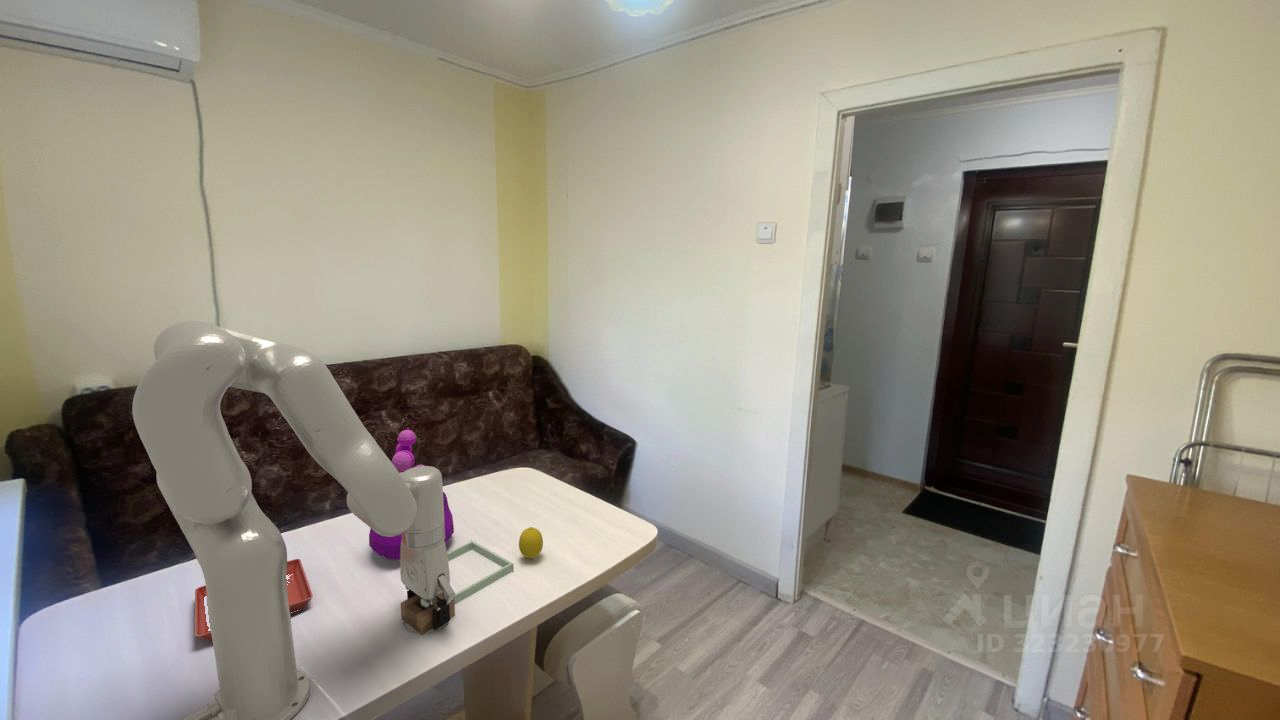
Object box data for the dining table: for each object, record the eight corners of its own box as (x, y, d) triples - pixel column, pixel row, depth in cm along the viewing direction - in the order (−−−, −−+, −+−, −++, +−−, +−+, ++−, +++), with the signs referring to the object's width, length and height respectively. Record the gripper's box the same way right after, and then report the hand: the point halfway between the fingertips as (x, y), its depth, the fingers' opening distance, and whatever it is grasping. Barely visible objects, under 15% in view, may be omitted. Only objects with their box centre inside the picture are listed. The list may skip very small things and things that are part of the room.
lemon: (537, 566, 121) (537, 534, 119) (515, 563, 122) (514, 531, 120) (546, 553, 126) (546, 523, 125) (525, 550, 127) (524, 520, 126)
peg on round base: (420, 644, 96) (418, 620, 95) (394, 623, 101) (392, 600, 100) (462, 618, 103) (461, 595, 102) (436, 599, 108) (435, 578, 108)
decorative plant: (456, 562, 122) (450, 439, 116) (366, 578, 115) (356, 448, 109) (452, 524, 139) (447, 415, 133) (374, 535, 132) (365, 421, 126)
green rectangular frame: (455, 607, 106) (454, 596, 106) (414, 579, 115) (413, 568, 115) (513, 573, 118) (513, 563, 118) (472, 550, 127) (472, 540, 126)
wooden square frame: (421, 635, 97) (420, 618, 97) (401, 618, 101) (400, 602, 101) (455, 615, 103) (454, 599, 102) (434, 600, 107) (433, 585, 106)
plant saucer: (196, 601, 107) (194, 587, 106) (301, 569, 118) (299, 556, 117) (197, 653, 93) (195, 637, 93) (315, 612, 105) (313, 597, 104)
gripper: (380, 525, 101) (386, 606, 104) (431, 557, 91) (437, 646, 94) (416, 511, 107) (422, 588, 110) (468, 539, 97) (472, 623, 100)
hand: (428, 614), depth 102 cm, fingers open, 8 cm apart
